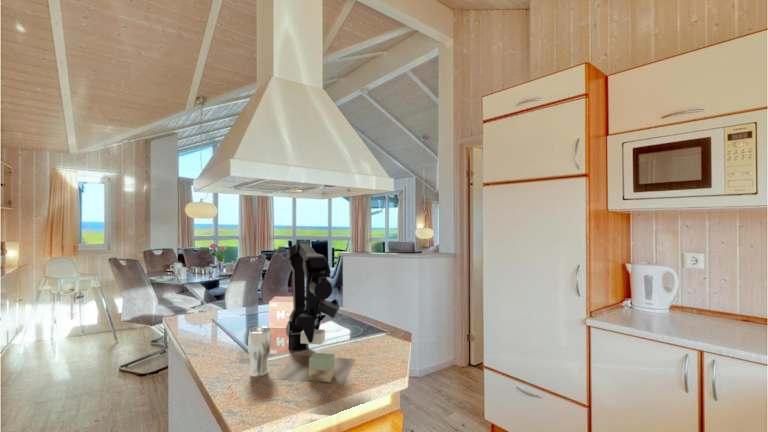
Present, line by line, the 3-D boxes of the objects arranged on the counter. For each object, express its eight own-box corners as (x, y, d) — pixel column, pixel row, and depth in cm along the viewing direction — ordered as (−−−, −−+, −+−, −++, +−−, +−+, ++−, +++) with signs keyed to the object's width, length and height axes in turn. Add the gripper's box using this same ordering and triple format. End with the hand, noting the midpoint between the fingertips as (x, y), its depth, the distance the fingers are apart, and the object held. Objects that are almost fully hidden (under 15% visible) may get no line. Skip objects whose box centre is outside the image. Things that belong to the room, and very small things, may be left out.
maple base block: (308, 380, 111) (308, 368, 111) (312, 373, 116) (313, 363, 116) (330, 381, 111) (330, 370, 111) (333, 375, 115) (334, 364, 115)
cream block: (300, 343, 117) (300, 332, 117) (304, 338, 122) (305, 328, 122) (321, 344, 116) (321, 333, 116) (324, 340, 121) (325, 329, 121)
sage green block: (308, 369, 111) (309, 358, 111) (313, 363, 116) (313, 352, 116) (330, 371, 111) (331, 359, 111) (334, 365, 115) (334, 354, 115)
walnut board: (274, 382, 111) (274, 379, 111) (296, 357, 131) (296, 354, 131) (343, 388, 109) (343, 385, 109) (355, 361, 129) (355, 359, 129)
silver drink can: (256, 382, 111) (258, 334, 111) (242, 376, 114) (243, 330, 114) (274, 374, 117) (275, 328, 117) (260, 369, 120) (261, 324, 120)
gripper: (330, 300, 109) (329, 351, 109) (343, 289, 128) (342, 332, 127) (295, 298, 110) (293, 349, 110) (313, 287, 129) (312, 330, 129)
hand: (312, 339), depth 119 cm, fingers closed on cream block, 4 cm apart
